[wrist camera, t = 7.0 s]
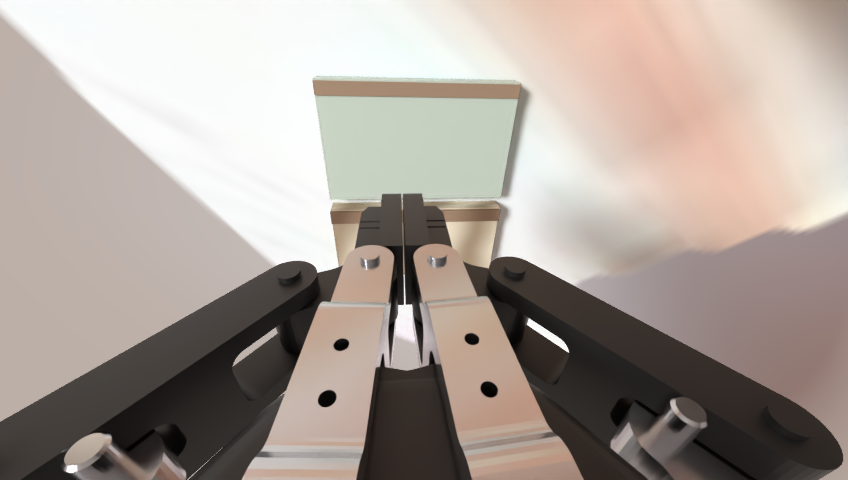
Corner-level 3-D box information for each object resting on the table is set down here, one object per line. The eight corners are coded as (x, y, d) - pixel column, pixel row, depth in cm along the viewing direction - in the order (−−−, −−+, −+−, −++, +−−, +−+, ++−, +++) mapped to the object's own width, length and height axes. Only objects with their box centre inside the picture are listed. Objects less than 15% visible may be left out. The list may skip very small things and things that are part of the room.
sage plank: (514, 80, 26) (521, 83, 25) (496, 190, 31) (501, 198, 30) (316, 76, 25) (312, 78, 23) (332, 192, 30) (330, 200, 29)
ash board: (495, 200, 32) (500, 209, 31) (485, 263, 36) (489, 273, 35) (333, 203, 31) (330, 211, 29) (342, 267, 35) (339, 278, 33)
